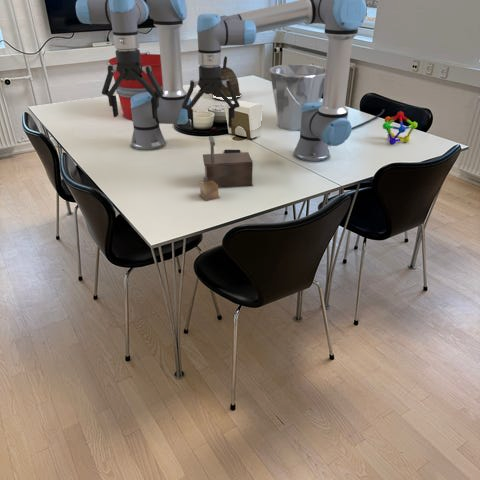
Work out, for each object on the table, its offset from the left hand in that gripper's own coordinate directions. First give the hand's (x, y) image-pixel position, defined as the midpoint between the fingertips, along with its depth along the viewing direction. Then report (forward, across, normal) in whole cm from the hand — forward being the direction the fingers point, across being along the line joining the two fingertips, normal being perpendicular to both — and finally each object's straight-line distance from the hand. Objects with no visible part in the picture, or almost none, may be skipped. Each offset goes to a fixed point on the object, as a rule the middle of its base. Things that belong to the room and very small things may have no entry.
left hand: (135, 116), depth 150 cm
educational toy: (+28, +102, +67) cm, 125 cm away
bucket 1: (+28, -29, +97) cm, 105 cm away
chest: (+28, +30, +13) cm, 43 cm away
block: (+28, +25, -1) cm, 37 cm away
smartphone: (+28, +28, +38) cm, 55 cm away
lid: (+19, +29, +13) cm, 37 cm away
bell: (+28, +10, +140) cm, 143 cm away
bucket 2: (+28, +55, +88) cm, 107 cm away
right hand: (+6, +24, +11) cm, 27 cm away
